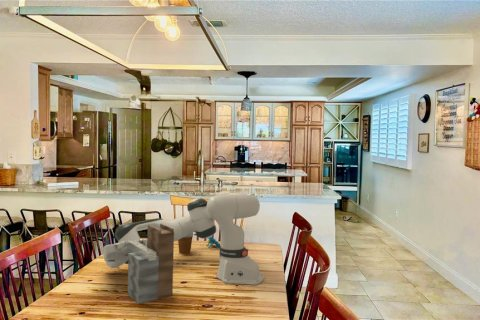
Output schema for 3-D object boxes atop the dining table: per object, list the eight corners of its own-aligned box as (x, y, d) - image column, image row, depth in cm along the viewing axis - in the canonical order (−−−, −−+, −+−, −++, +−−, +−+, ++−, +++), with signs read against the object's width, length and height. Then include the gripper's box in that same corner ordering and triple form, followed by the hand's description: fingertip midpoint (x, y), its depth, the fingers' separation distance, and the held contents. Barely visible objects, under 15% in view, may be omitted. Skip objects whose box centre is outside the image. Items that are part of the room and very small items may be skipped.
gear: (224, 246, 220) (212, 235, 218) (217, 254, 218) (206, 243, 215) (216, 244, 230) (205, 233, 227) (210, 251, 228) (199, 241, 225)
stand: (127, 294, 149) (129, 227, 148) (160, 286, 158) (161, 223, 157) (138, 303, 141) (140, 233, 140) (172, 295, 150) (174, 228, 149)
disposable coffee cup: (172, 252, 209) (173, 232, 209) (184, 249, 217) (184, 229, 216) (185, 256, 204) (185, 234, 203) (196, 252, 211) (197, 231, 211)
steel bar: (126, 247, 157) (127, 240, 157) (133, 246, 159) (133, 239, 158) (148, 261, 139) (148, 253, 139) (156, 259, 141) (156, 252, 141)
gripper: (146, 254, 170) (158, 246, 160) (101, 262, 157) (111, 253, 147) (143, 241, 172) (155, 232, 162) (99, 248, 159) (108, 238, 150)
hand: (133, 242), depth 155 cm, fingers open, 6 cm apart
